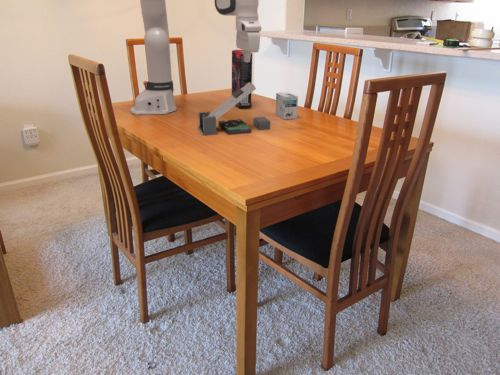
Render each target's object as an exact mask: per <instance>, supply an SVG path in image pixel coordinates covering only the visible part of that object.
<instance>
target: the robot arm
mask: <svg viewBox="0 0 500 375" xmlns="http://www.w3.org/2000/svg"><path fill="white" fill-rule="evenodd" d="M259 1H260V0H214V7H215V10H216V11H217V13H218V14H219V15H222V16H231V17H232V16H234V17H235V30H236V34H235V38H236V39H235V42H236V44H235V45H236V49H237V48H238V49H239V50H243V56H244V61H245V62H250V57H251V53H258V52H259V50H260V43H261V41H260V40H261V33H260V32H262V24H260V21H259V13H258V8H259V4H260V3H259ZM139 3H140V8H141V11H140V12H141V15H142V22H143V28H144V36H143V38H144V39H143V40H144V49H145V58H146V64H147V76H148V78H147V79H148V81H146V80H144V81H143V86H144V89H143V91H142V92H140V93H139V94H138V95H137V96H136V97H135V100H134V105H133V106H132V107H131V108H130V113H131V114H133V115H168V114H169V113H172V112H175V111H177V110H178V108H177V104H176V102H175V96H174V91H175V90H174V82H173V80H172V78H173V77H172V62H171V61H172V60H171V49H170V48H171V47H170V33H169V23H168V15H167V14H168V13H167V4H166V0H139Z"/></svg>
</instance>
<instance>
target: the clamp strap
mask: <svg viewBox="0 0 500 375" xmlns="http://www.w3.org/2000/svg"><path fill="white" fill-rule="evenodd" d="M255 90H257V87H256V86H255V85H254V84H253V83H250V82H249V83H248V84H246V85H245V86H244V87H242V88H241V89H238V90H236V91H235V92H234V93H233V94H232V93H231V96H230V97H229V98H226V100H224V101H223V102H222V103H221V104H219V105H218V106H217V107H215V108H214V109H213V110H212V111H210V113H209V114H208V115H207V116H205V117H212V116H215V117H216V121H217V120H218V119H219V118H221V117H222V116H223V115H224V114H226V113H227V112H228V111H229V110H231V109H232V108H234V107H235V106H236V104H237V103H238V102H240V101H241V100H242V99H244V98H245V97H246V96H247V95H249V94H250V93H251V94H252V93H253V92H254V91H255Z"/></svg>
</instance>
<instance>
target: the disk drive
mask: <svg viewBox="0 0 500 375" xmlns="http://www.w3.org/2000/svg"><path fill="white" fill-rule="evenodd" d="M218 127H219V128H220V129H222V130H223V131H224V132H225V133H226V134H227V135H228V136H232V135H233V136H234V135H242V134H243V135H245V134H252V128H251V126H250V125H249V124H247V123H246V122H245V121H243V120H242V119H240V118H239V119H228V120H226V121H225V120H218Z"/></svg>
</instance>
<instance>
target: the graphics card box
mask: <svg viewBox="0 0 500 375" xmlns="http://www.w3.org/2000/svg"><path fill="white" fill-rule="evenodd" d="M249 82H250V83H252V82H253V52H251V57H250V62H245V61H244V56H243V50H242V49H233V50H231V95H232V94H233V93H234V92H235V91H236V90H238V89H241V88H242V87H244V86H245V85H246V84H248V83H249ZM252 84H253V83H252ZM235 106H236V107H238V108H239V109H251V108H252V92H251V93H250V94H249V95H247V96H246V97H245V98H244V99H242V100H241V101H240V102H238V103H237V104H236V105H235Z"/></svg>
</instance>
